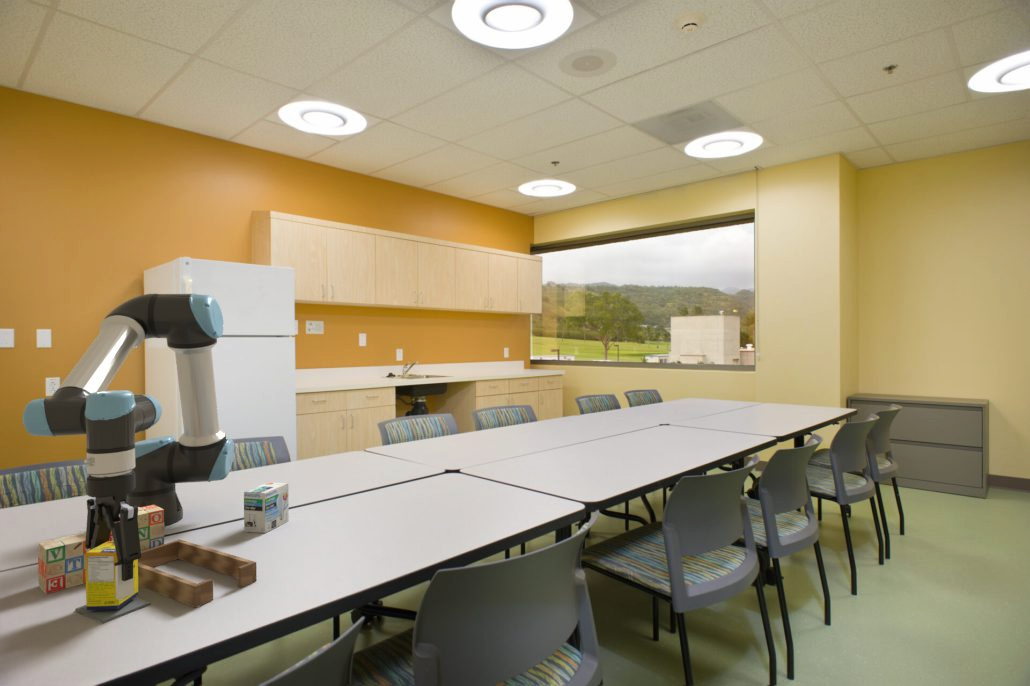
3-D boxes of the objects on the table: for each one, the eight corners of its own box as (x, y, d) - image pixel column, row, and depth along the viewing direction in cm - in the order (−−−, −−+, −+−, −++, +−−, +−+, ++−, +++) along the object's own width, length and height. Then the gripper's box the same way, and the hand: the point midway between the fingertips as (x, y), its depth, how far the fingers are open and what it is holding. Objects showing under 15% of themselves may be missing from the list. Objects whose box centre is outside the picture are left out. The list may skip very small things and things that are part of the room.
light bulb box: (265, 534, 144) (265, 493, 144) (242, 532, 146) (242, 491, 145) (289, 520, 155) (289, 482, 155) (268, 519, 156) (268, 481, 156)
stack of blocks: (45, 595, 110) (44, 534, 110) (38, 586, 114) (37, 527, 114) (165, 561, 127) (164, 508, 127) (155, 554, 131) (154, 503, 131)
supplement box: (139, 595, 108) (138, 539, 108) (118, 610, 102) (117, 551, 102) (108, 595, 108) (107, 540, 108) (85, 611, 102) (84, 552, 102)
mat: (75, 610, 104) (75, 608, 104) (122, 593, 111) (122, 591, 111) (102, 623, 99) (102, 621, 99) (149, 604, 106) (149, 602, 106)
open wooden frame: (118, 577, 118) (117, 558, 118) (179, 556, 130) (179, 539, 130) (195, 607, 105) (195, 586, 105) (256, 581, 116) (256, 562, 116)
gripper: (61, 470, 106) (63, 587, 107) (118, 483, 96) (119, 612, 97) (105, 462, 113) (107, 572, 113) (162, 474, 103) (164, 595, 103)
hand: (113, 591), depth 105 cm, fingers closed on supplement box, 8 cm apart
